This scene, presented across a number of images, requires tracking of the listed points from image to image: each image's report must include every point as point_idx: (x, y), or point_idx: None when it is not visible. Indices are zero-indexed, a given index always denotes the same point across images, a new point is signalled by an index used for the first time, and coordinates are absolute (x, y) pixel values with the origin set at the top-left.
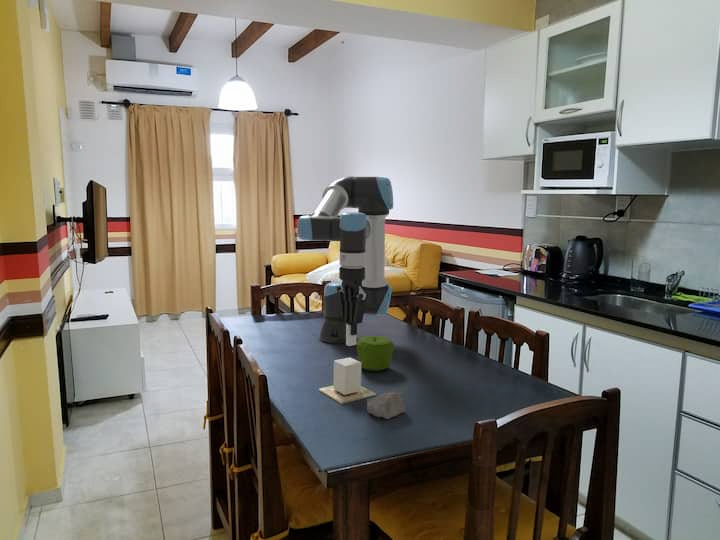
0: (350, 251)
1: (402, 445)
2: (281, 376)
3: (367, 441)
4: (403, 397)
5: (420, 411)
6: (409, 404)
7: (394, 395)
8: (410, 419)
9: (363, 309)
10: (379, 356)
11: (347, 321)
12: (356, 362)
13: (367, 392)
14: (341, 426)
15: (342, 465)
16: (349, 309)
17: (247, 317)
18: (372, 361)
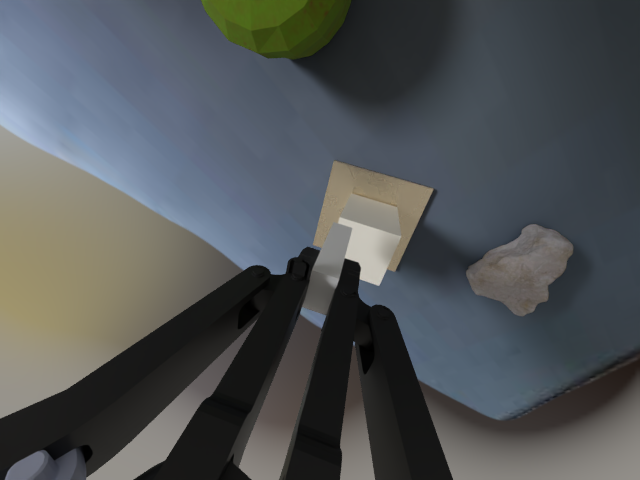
0: None
1: (599, 347)
2: (210, 229)
3: (523, 357)
4: (568, 241)
5: (597, 200)
6: (548, 180)
7: (556, 277)
8: (581, 253)
9: (426, 420)
10: (340, 12)
11: (300, 308)
12: (387, 245)
13: (412, 197)
14: (451, 335)
15: (519, 412)
16: (279, 360)
17: None
18: (322, 41)
